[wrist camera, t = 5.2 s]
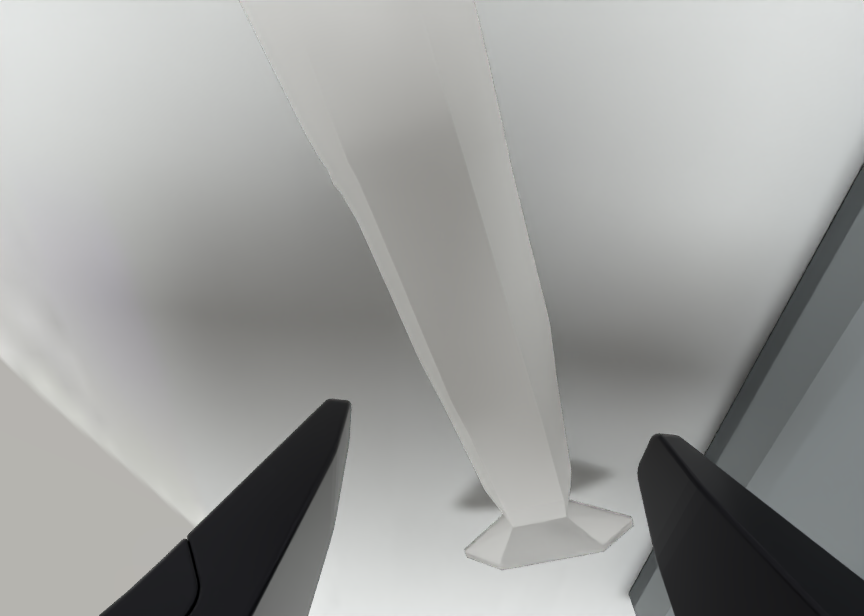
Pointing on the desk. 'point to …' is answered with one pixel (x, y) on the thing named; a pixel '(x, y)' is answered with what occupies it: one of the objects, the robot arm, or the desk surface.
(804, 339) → the razor tray
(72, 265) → the desk surface
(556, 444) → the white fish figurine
